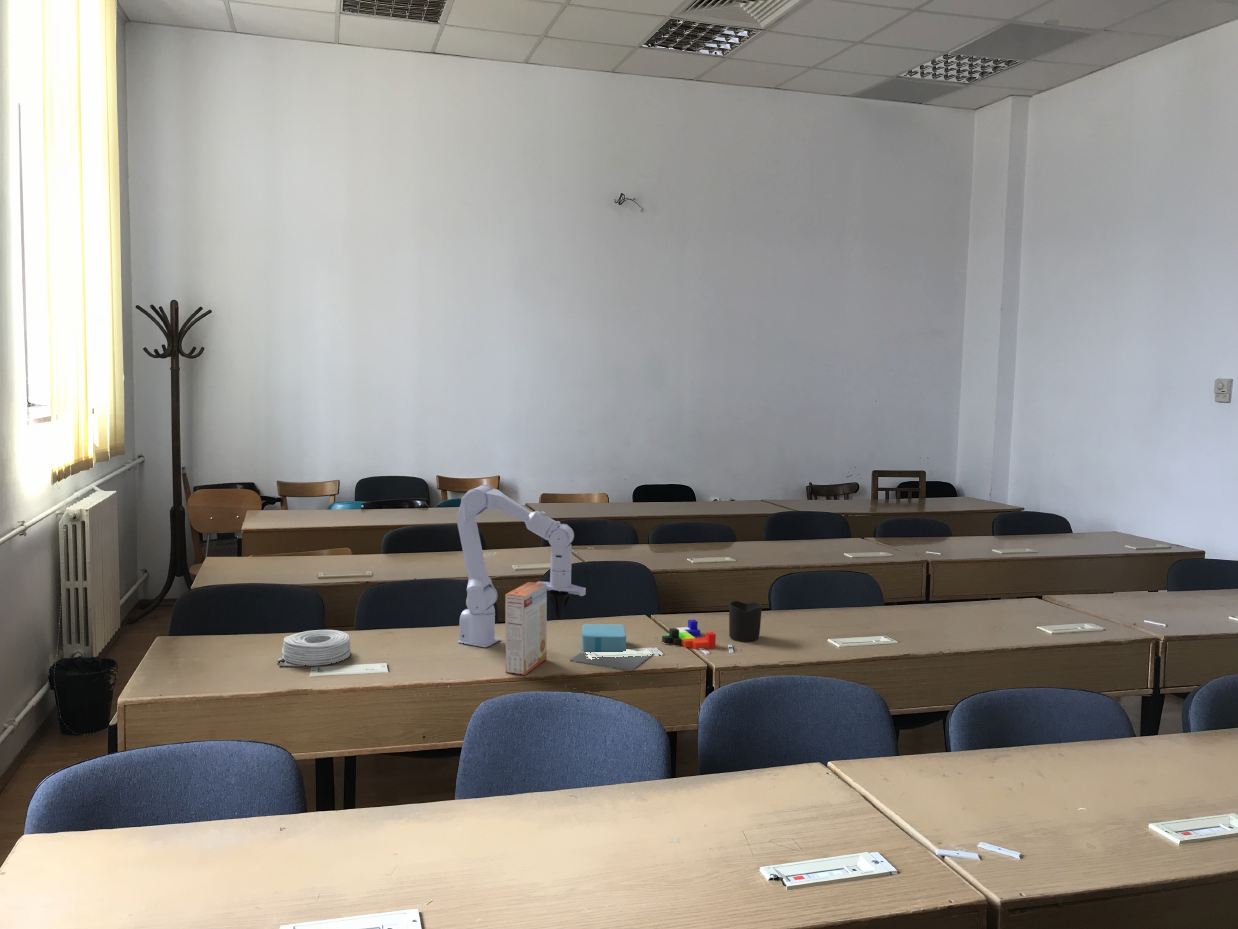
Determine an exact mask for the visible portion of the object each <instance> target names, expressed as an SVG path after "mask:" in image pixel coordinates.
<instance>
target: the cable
mask: <svg viewBox="0 0 1238 929" xmlns="http://www.w3.org/2000/svg"><path fill="white" fill-rule="evenodd" d="M281 652H282V658H278V659H277V660H276V663H278V666H279V667H285V666H292V667H310V666H311V667H313V666H325V665H326V666H327V665H332V664H336V662H337V663H340V662H339V661H341V660H343V661H345V660H347V659H348V658H349V657H350V655H351V652H352V647H351V637H350V635H349V634H348V633H346V632H345V631H341V630H336V629H316V630H305V631H302V632H301V631H300V632H297V633H293V634H291V635H287V636H284V639H283V645H282V649H281ZM346 658H347V659H346ZM344 659H345V660H344ZM279 662H282V663H279ZM341 662H342V661H341ZM331 663H332V664H331ZM305 665H306V666H305Z"/></svg>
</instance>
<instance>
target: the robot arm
mask: <svg viewBox="0 0 1238 929" xmlns="http://www.w3.org/2000/svg"><path fill="white" fill-rule="evenodd" d="M491 510H493V511H494V510H501V511H502V512H505V513H506V514H508V515H510V516H512V517H514V518H516V519H518V520H520V521H522V522H524V523H525V526H526V529H527V530H528V531H530V532H532V533H534V534H535V535H537V536H539V537H541V538H542V539H544V540H546V541H548V543H549V545H550V547H551V549H550V571H549V572H550V575H549V576H550V577H549V581H536V582H535V583H544V584H547V591H550V593H548V594H547V595H548V596H547V597H548V598H549V600H550V602H551V604H552V608H553V609H554V615H555V618H556V619H559V620H561V619H563V618H564V617H565V612H566V608H567V606H568V604H569V601H570V600H571V598H572V595H578V596H579V597H584V596H585V595H586V592H587V590H586V589H587V588H586V587H582V586H579V585H575V584H572V560H573V559H572V556H573V555H572V554H573V553H572V542H573V541H574V538H575V532H574V530H573V528H571V527H570V526H569V524H567V523H561V522H560V521H559V520H557V521H556V520H554V519H553V518H551V517H550V516H547V512H545V511H543V510H542V511H539V510H535V511H531V510H529V509H528V508H526V507H524V505H521V504H519V503H518V502H517V501H515V500H514V499H513V498H510V497H509V496H507V495H506V494H504V493H503V492H502V491H501V490H499V489H497V488H493V487H492V486H491V485H489V484H481V485H479V486H478V487H475V488H472V489H469V490H468V491H466V493H465V494H464V495H462V497H461V499H460V505H459V508H458V512H457V514H456V524H457V530H458V534H459V538H460V544H461V548H462V554H463V559H464V563H465V569H466V572H467V577H468V578H467V579H468V582H467V587H466V595H467V596H466V599H465V605H466V607H467V608H465V609H464V610H462V612H461V614H460V616H459V624H458V625H459V639H458V640H457V643H458V644H463V643H464V645H469V646H475V647H482V648H488V647H490V646H492V645H494V644H495V643H498V642H499V641H501V640H502V638H500V637H495V636H496V635H495V634H496V633H495V631H496V630H495V628H496V627H495V626H496V624H495V622H496V620H495V619H496V617H495V616H496V610H495V606H494V604H495V603H496V602H497V600H498V591H497V589H496V588H495V587H494V585H493V581H492V578H490V576H489V575H488V573H487V567H486V563H485V557H484V552H483V548H482V542H481V537H480V532H479V528H478V523H477V521H478V520H479V518H480V517H481V515H483V514H482V513H483V512H484V511H491Z"/></svg>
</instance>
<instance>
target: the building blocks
mask: <svg viewBox="0 0 1238 929" xmlns="http://www.w3.org/2000/svg"><path fill="white" fill-rule="evenodd" d="M698 626H699V625H698V621H697V620H696V619H695V618H694V619H688V620H687V626H683V627H673V628H668V629H669V630H668V633H666V635H662V636H661V643H662V642H664V643H672V644H671V645H673V646H674V645H679V646H682V647H683V646H684V648H685V647H686V648H692V647H693V648H692V649H693V650H698V649H697V648H704V649H713V648H716V640H717V639H716V638H717V637H716V636H717V634H716V633H715V632H714V631H709V632H707V631H706V632H705V637H701V630H700V629H699V628H698ZM694 636H696V637H694ZM697 636H699V637H697ZM664 643H663V644H664Z"/></svg>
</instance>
